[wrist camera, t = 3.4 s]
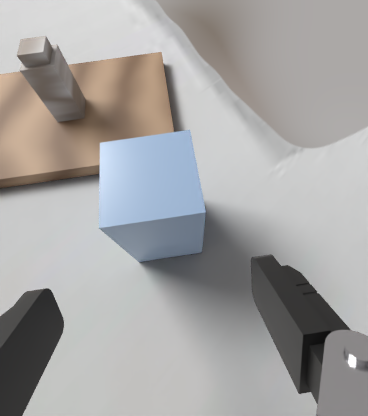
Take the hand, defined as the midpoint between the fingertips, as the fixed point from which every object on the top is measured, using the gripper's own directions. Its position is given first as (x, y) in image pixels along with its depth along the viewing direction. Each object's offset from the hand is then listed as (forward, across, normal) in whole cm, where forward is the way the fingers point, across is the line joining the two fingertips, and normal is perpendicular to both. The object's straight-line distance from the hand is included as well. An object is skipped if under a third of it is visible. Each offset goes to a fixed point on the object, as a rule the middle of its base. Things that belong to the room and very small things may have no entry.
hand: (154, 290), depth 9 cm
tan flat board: (+23, +9, -8) cm, 26 cm away
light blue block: (+12, 0, +3) cm, 12 cm away
